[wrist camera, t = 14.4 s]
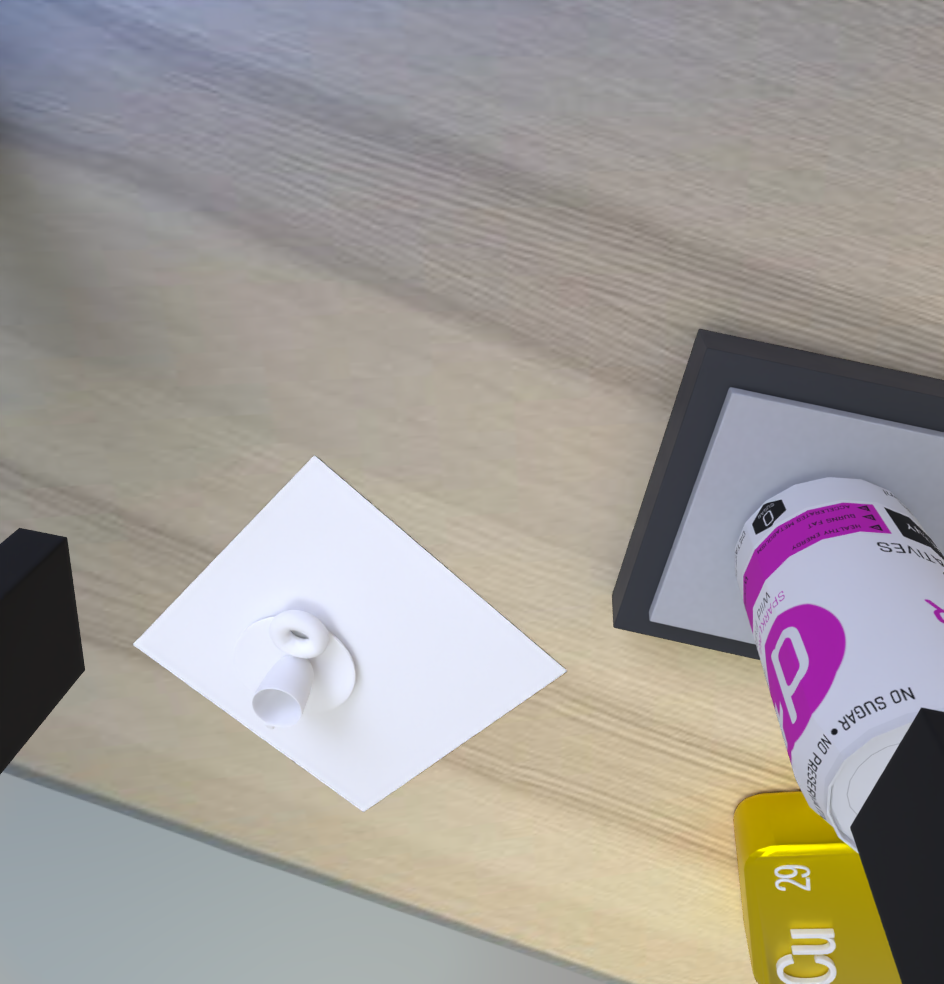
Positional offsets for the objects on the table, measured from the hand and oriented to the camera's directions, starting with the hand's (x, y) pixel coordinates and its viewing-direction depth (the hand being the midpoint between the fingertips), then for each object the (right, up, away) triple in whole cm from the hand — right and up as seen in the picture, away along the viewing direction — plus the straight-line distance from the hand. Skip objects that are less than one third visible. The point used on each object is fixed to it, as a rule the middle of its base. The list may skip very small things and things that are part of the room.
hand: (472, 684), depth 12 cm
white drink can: (+17, 0, +26) cm, 31 cm away
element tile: (+26, -22, +41) cm, 53 cm away
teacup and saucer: (-8, -7, +38) cm, 39 cm away
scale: (+17, +2, +29) cm, 34 cm away
